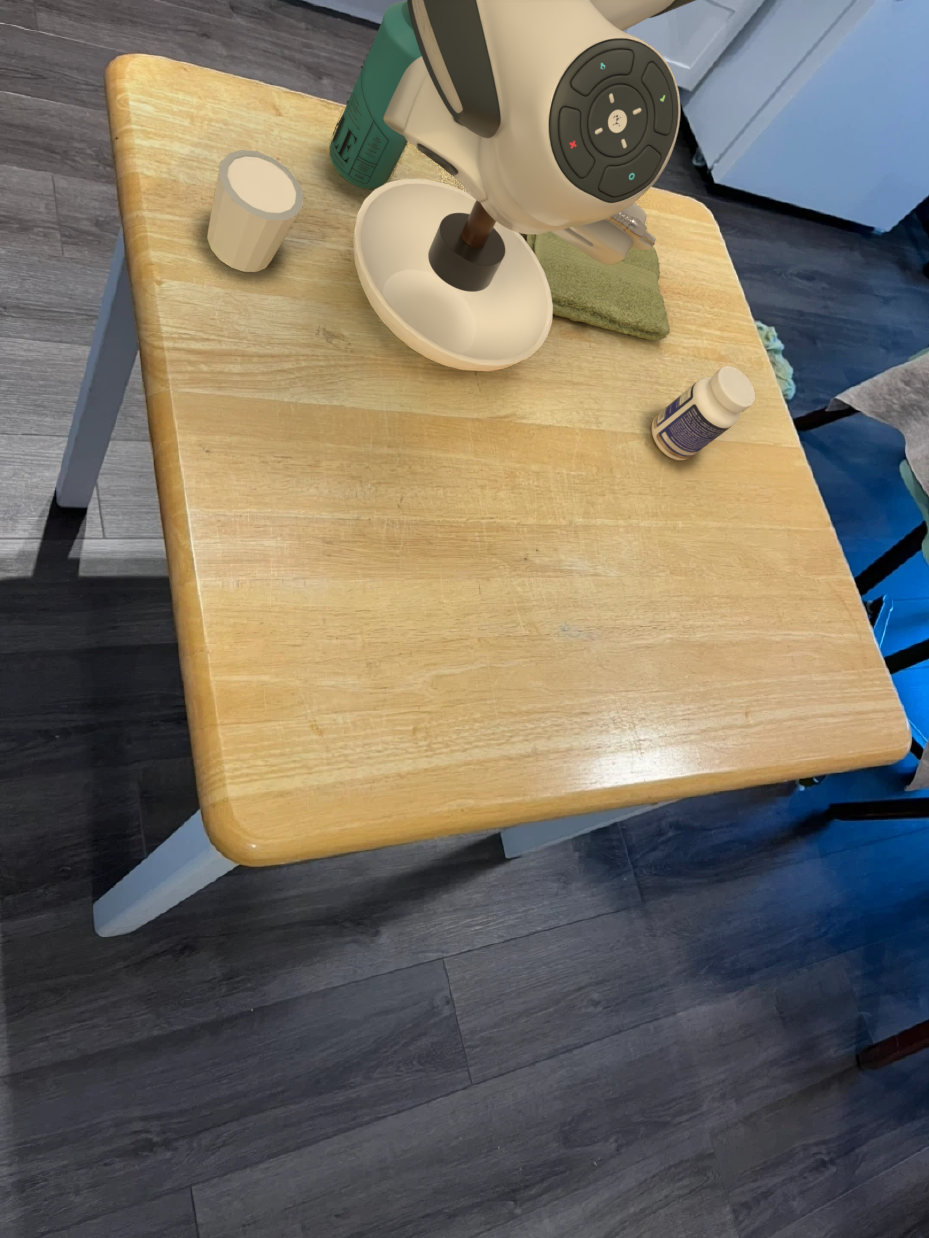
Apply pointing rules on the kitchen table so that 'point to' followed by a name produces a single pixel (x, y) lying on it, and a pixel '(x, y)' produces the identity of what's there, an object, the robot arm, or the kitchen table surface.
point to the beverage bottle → (375, 105)
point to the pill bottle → (702, 413)
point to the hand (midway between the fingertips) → (496, 182)
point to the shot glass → (252, 209)
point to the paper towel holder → (467, 250)
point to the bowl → (429, 307)
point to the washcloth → (603, 287)
